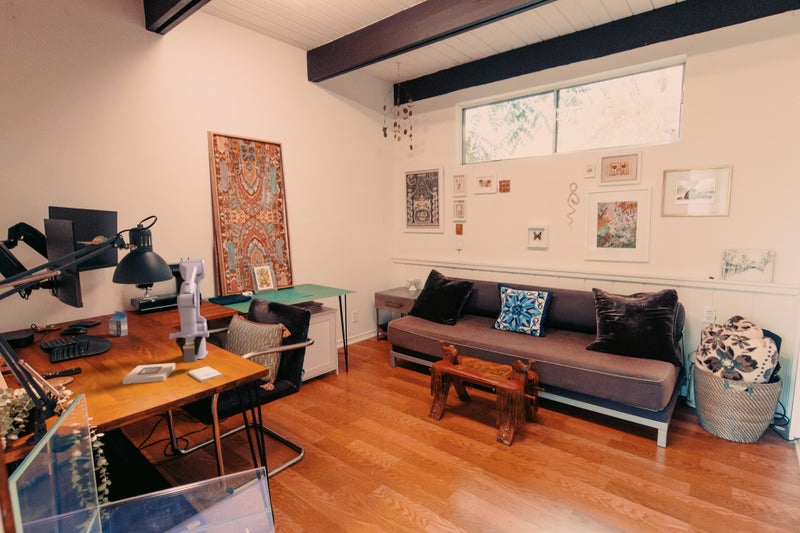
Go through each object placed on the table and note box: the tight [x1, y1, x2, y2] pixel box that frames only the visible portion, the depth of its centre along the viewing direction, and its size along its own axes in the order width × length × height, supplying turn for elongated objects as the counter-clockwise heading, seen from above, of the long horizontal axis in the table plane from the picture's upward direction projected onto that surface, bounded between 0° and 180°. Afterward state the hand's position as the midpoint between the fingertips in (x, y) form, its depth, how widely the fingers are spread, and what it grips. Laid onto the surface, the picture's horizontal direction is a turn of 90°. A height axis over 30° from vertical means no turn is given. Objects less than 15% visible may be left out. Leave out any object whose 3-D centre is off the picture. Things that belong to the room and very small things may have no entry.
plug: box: [183, 343, 199, 364], centre depth 167 cm, size 4×4×7 cm
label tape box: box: [108, 310, 129, 337], centre depth 214 cm, size 9×4×12 cm, turn 71°
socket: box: [122, 362, 177, 385], centre depth 160 cm, size 14×14×2 cm
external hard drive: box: [187, 365, 223, 383], centre depth 161 cm, size 2×8×12 cm
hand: (190, 354), depth 167 cm, fingers closed on plug, 4 cm apart
